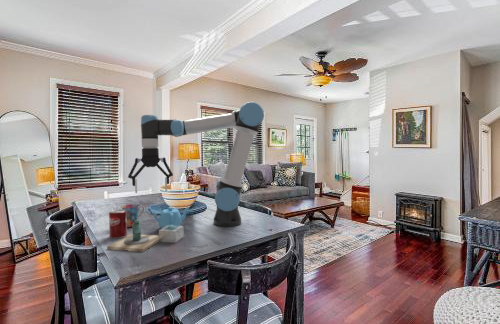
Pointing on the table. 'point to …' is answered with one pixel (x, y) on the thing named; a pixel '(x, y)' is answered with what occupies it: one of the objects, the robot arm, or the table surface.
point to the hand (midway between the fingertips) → (151, 191)
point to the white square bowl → (171, 234)
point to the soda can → (118, 223)
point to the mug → (132, 213)
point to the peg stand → (135, 240)
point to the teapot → (170, 217)
